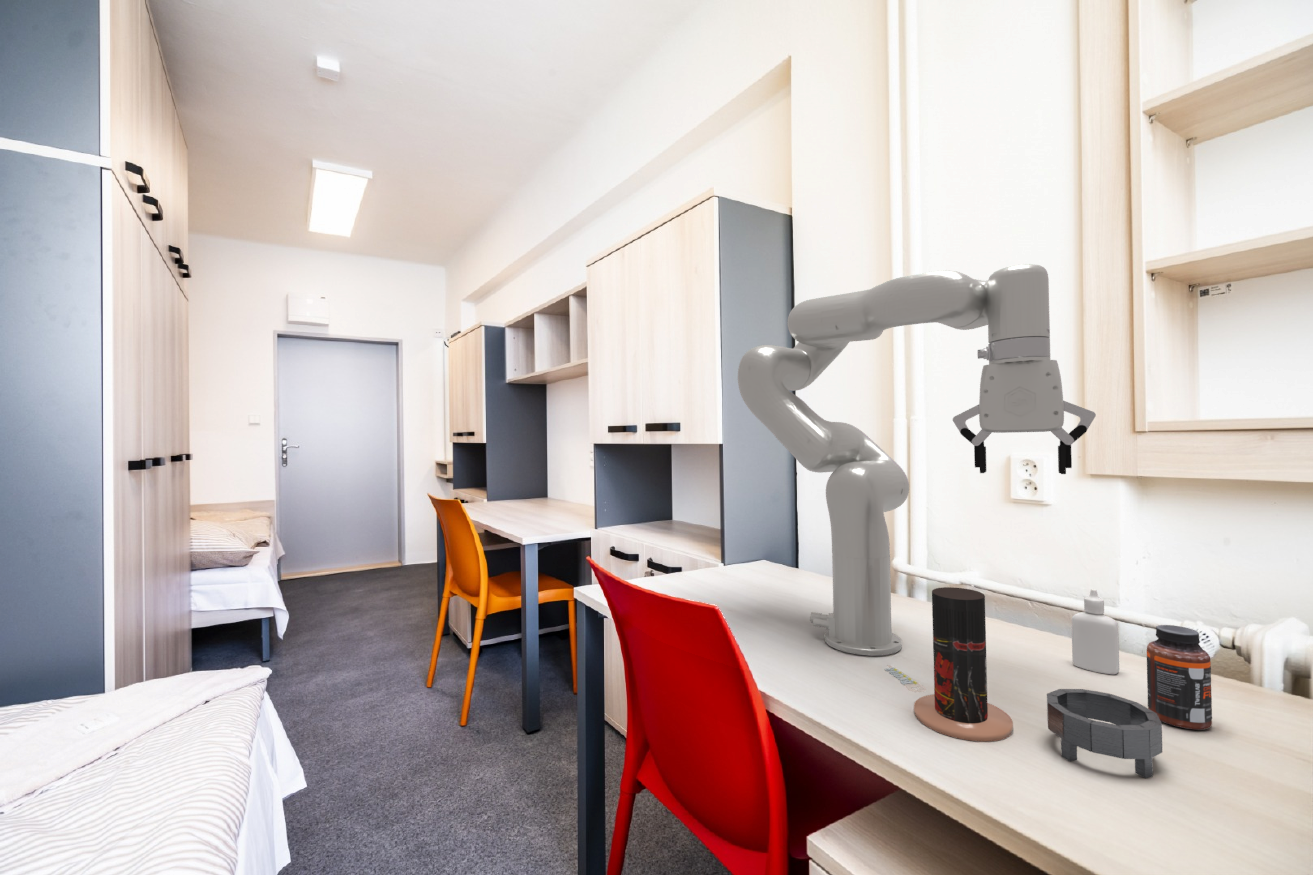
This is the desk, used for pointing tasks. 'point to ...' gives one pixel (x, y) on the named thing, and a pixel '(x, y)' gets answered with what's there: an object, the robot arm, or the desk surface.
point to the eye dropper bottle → (1095, 638)
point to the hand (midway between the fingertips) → (1021, 473)
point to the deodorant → (959, 654)
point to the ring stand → (1105, 726)
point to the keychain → (905, 680)
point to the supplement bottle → (1179, 678)
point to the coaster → (989, 730)
